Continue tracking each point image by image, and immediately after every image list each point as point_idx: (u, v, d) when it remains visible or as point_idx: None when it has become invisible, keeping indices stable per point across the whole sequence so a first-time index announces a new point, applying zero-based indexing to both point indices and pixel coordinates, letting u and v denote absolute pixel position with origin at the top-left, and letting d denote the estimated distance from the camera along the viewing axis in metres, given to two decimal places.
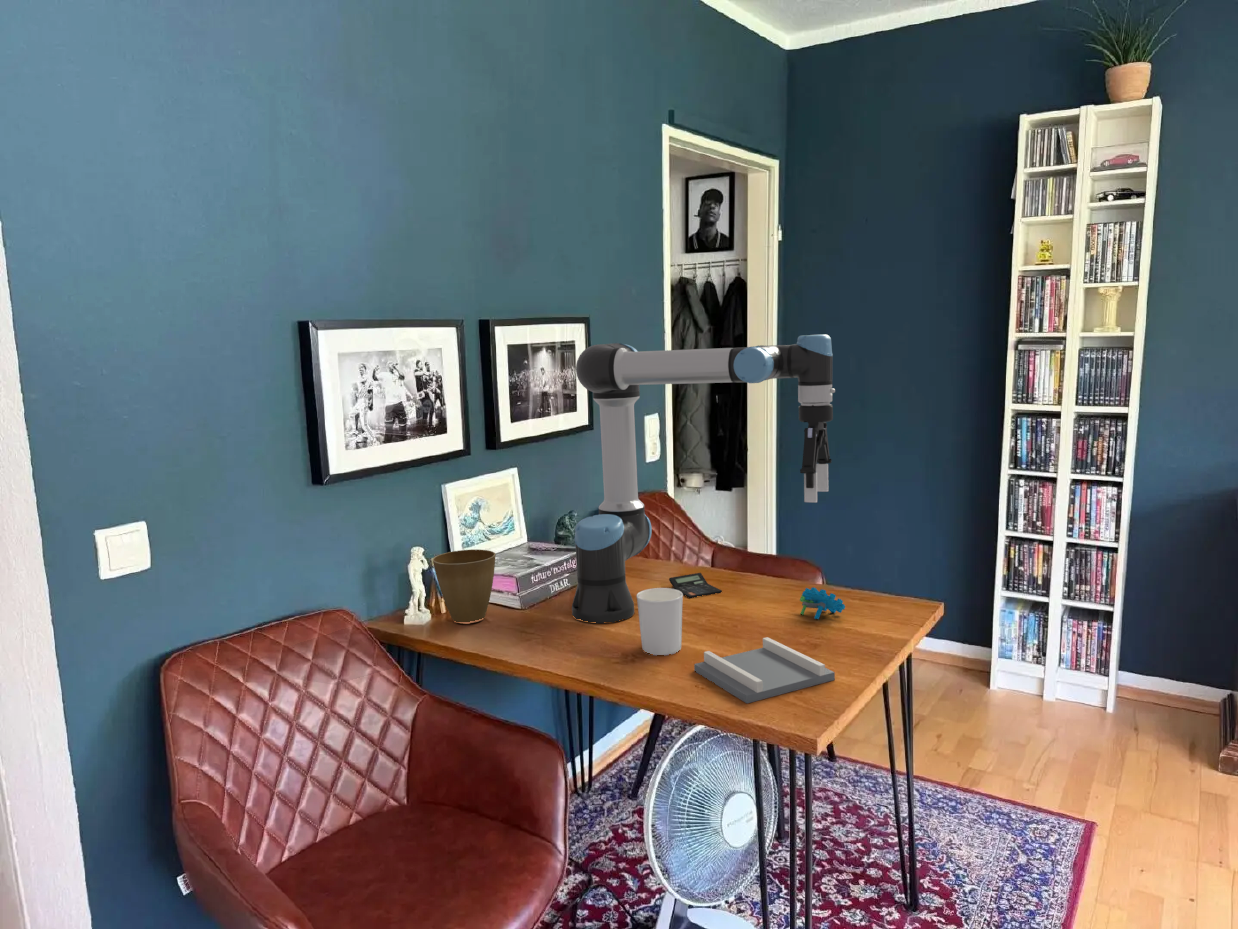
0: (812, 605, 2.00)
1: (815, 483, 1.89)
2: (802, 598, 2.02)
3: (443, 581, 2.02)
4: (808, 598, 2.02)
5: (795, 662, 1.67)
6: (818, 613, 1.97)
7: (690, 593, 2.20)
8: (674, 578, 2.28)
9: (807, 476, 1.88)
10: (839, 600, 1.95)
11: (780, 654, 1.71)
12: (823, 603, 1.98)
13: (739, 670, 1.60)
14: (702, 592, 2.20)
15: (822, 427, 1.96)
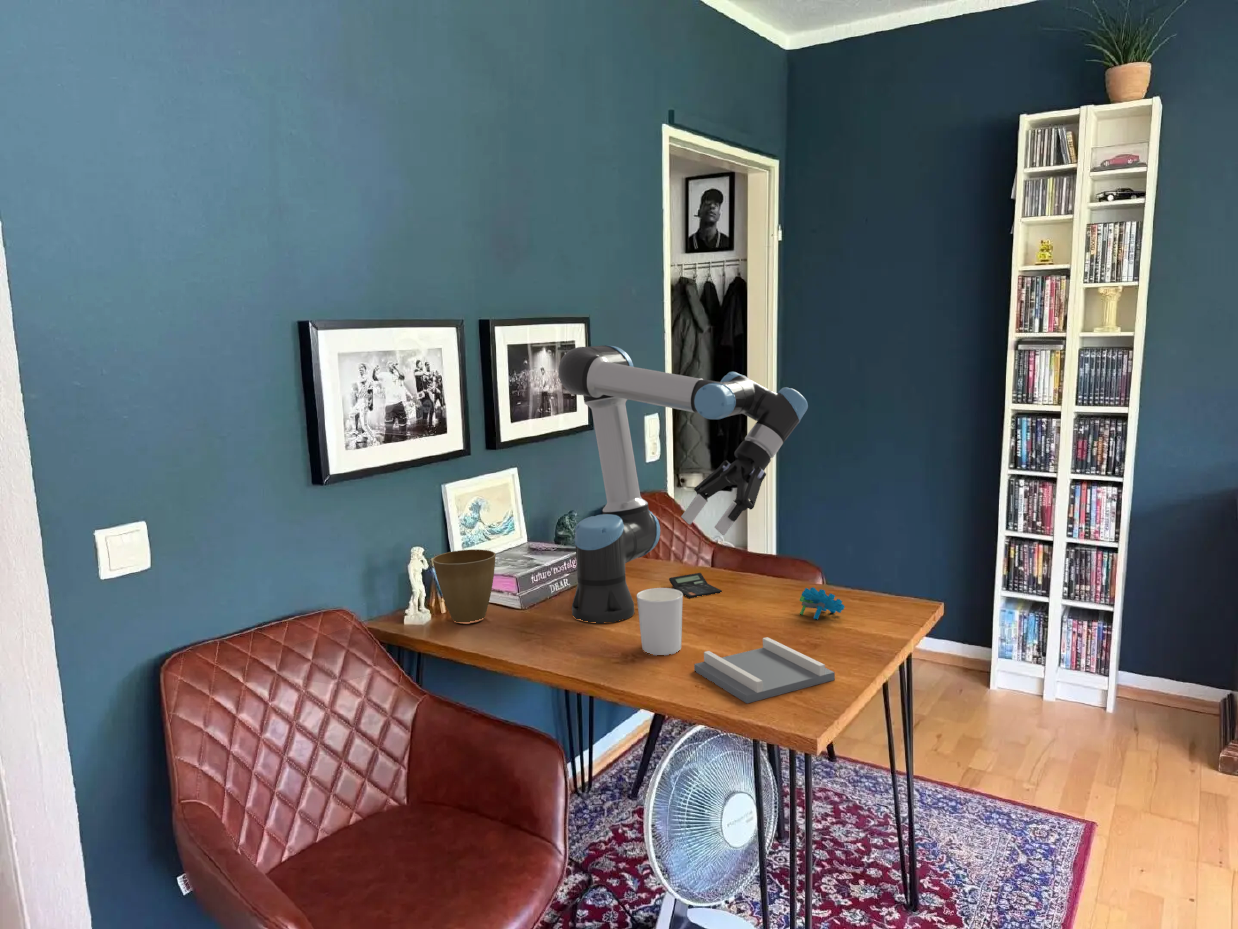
0: (811, 605, 2.00)
1: None
2: (802, 598, 2.02)
3: (443, 581, 2.02)
4: (808, 598, 2.02)
5: (795, 662, 1.67)
6: (818, 613, 1.97)
7: (690, 593, 2.20)
8: (674, 578, 2.28)
9: (738, 508, 1.78)
10: (838, 600, 1.95)
11: (780, 654, 1.71)
12: (822, 603, 1.98)
13: (739, 670, 1.60)
14: (702, 592, 2.20)
15: None
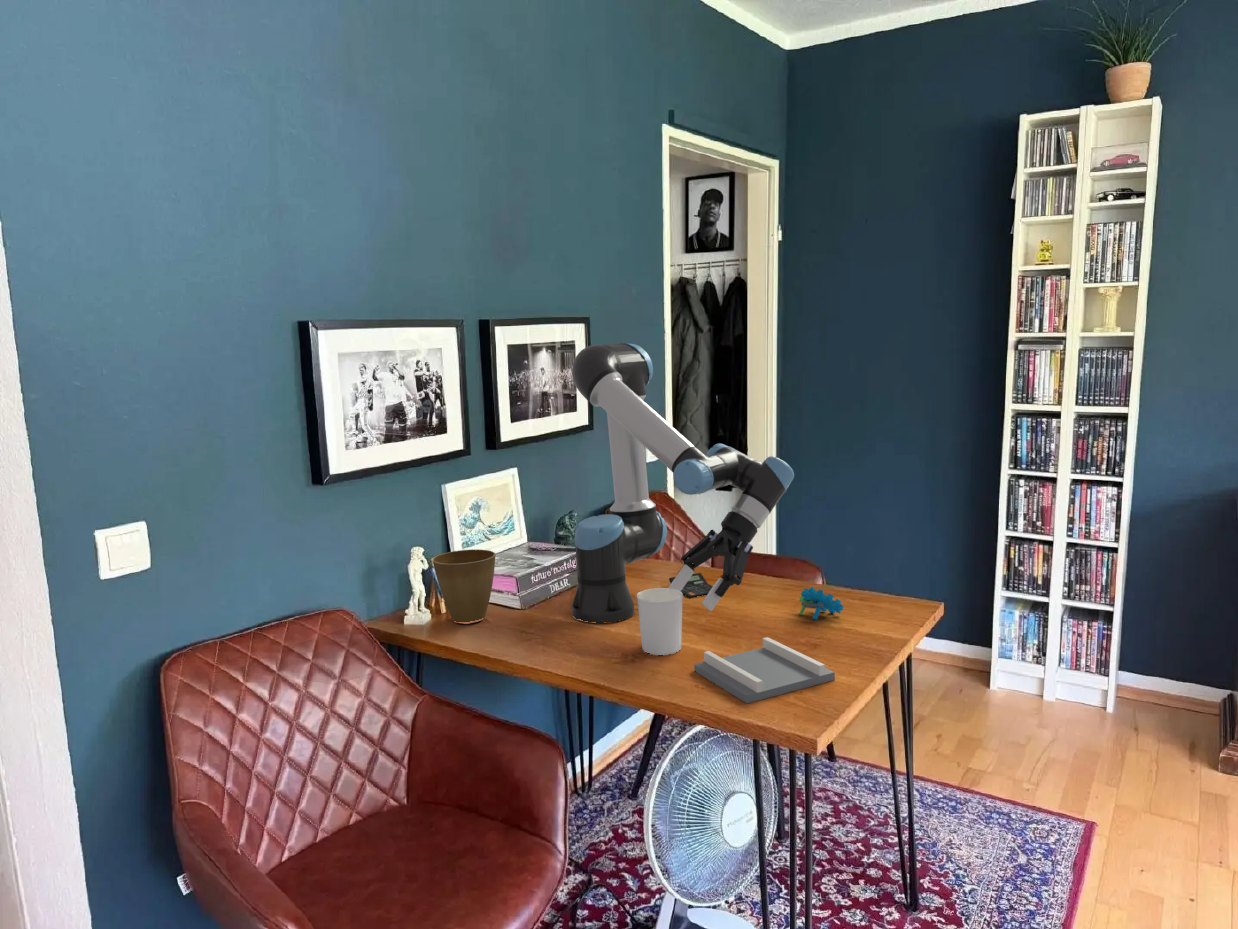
0: (811, 605, 2.00)
1: None
2: (801, 598, 2.02)
3: (443, 581, 2.02)
4: (807, 598, 2.01)
5: (795, 662, 1.67)
6: (817, 613, 1.97)
7: (690, 593, 2.20)
8: (674, 578, 2.28)
9: (725, 584, 1.77)
10: (837, 601, 1.95)
11: (780, 654, 1.71)
12: (821, 603, 1.98)
13: (739, 670, 1.60)
14: (702, 592, 2.20)
15: None
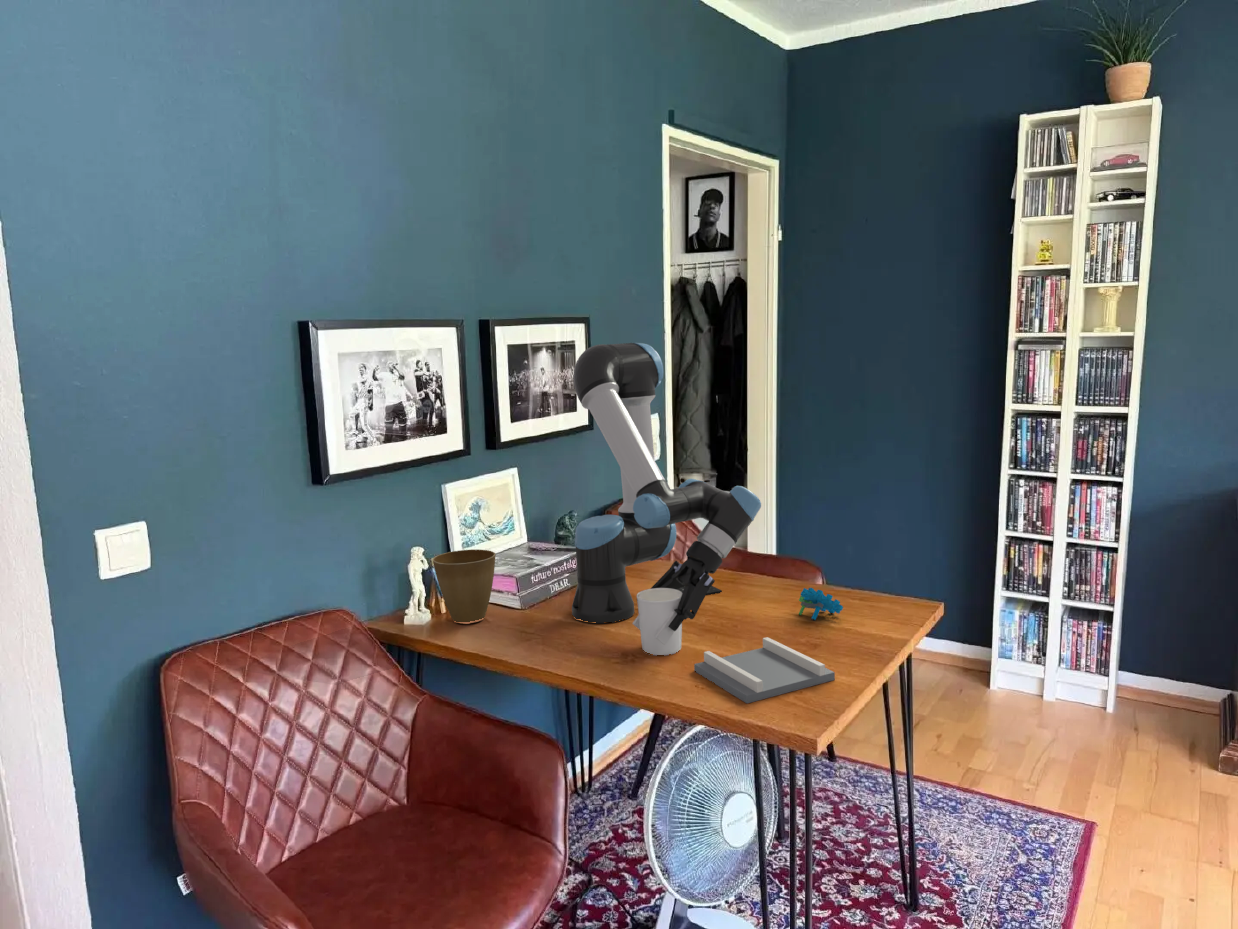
0: (810, 605, 1.99)
1: None
2: (801, 598, 2.02)
3: (443, 581, 2.02)
4: (807, 598, 2.01)
5: (795, 662, 1.67)
6: (816, 613, 1.97)
7: None
8: None
9: (679, 618, 1.76)
10: (836, 601, 1.95)
11: (780, 654, 1.71)
12: (821, 603, 1.97)
13: (739, 670, 1.60)
14: None
15: None
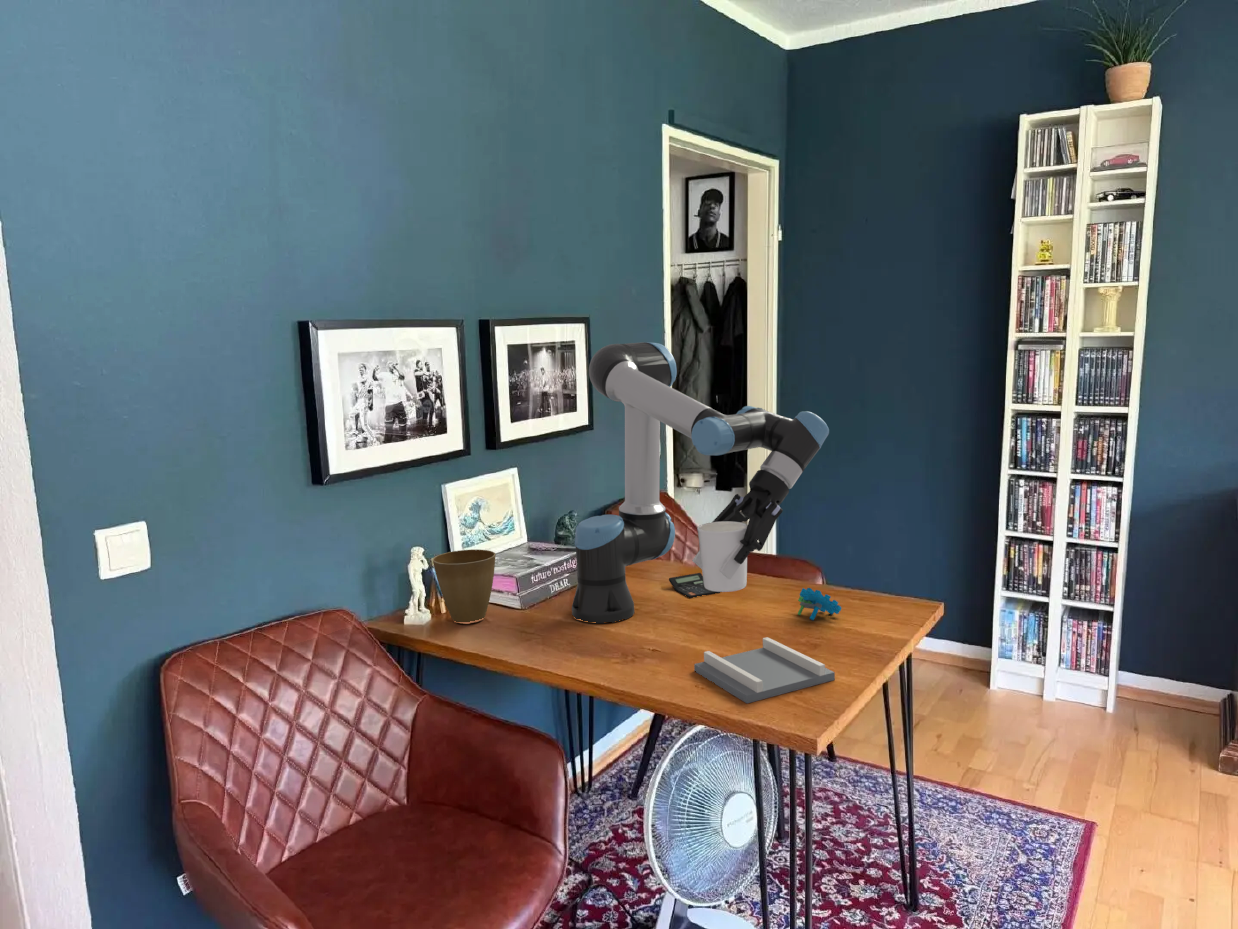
0: (809, 605, 1.99)
1: None
2: (800, 598, 2.02)
3: (443, 581, 2.02)
4: (806, 598, 2.01)
5: (795, 662, 1.67)
6: (814, 613, 1.97)
7: (689, 593, 2.20)
8: (674, 578, 2.28)
9: (745, 550, 1.62)
10: (834, 601, 1.94)
11: (780, 654, 1.71)
12: (819, 604, 1.97)
13: (739, 670, 1.60)
14: (702, 592, 2.20)
15: None
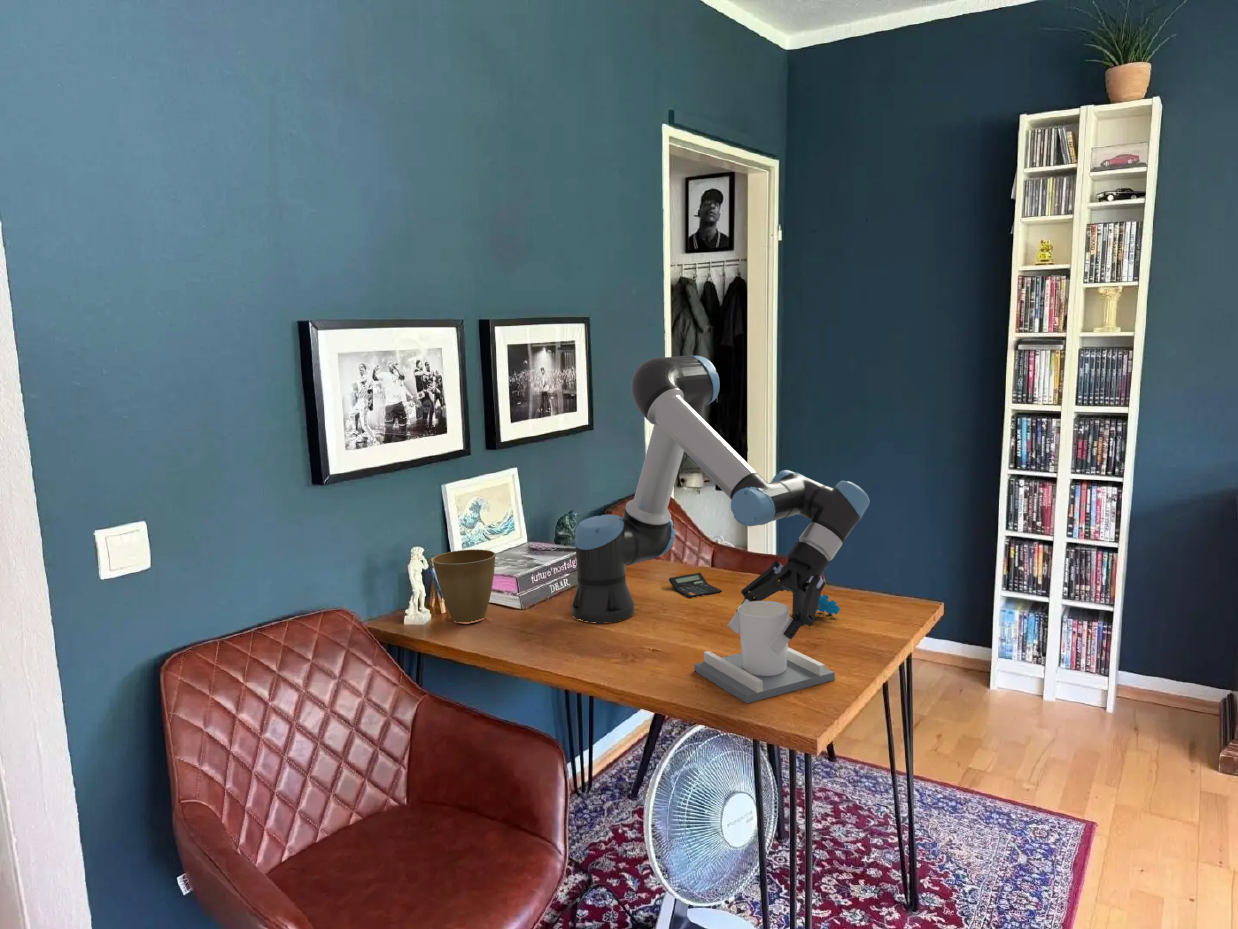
0: None
1: None
2: None
3: (443, 581, 2.02)
4: None
5: (795, 662, 1.67)
6: None
7: (689, 593, 2.20)
8: (674, 578, 2.28)
9: (796, 625, 1.58)
10: (832, 602, 1.94)
11: None
12: (818, 604, 1.97)
13: (739, 670, 1.60)
14: (702, 592, 2.20)
15: None
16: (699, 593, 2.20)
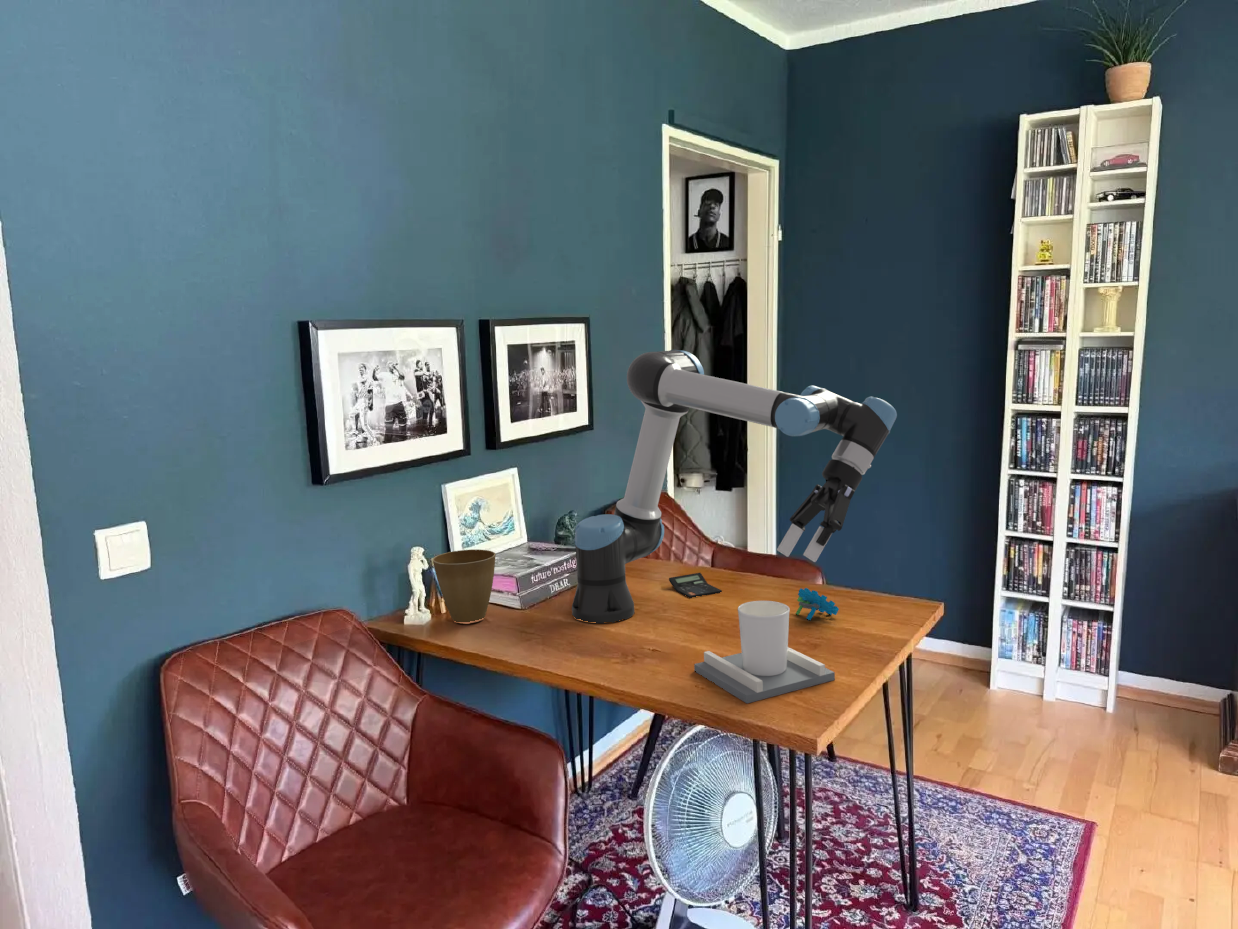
0: (807, 606, 1.99)
1: (825, 542, 1.67)
2: (799, 598, 2.02)
3: (443, 581, 2.02)
4: (805, 598, 2.01)
5: (795, 662, 1.67)
6: (811, 614, 1.97)
7: (689, 593, 2.20)
8: (674, 578, 2.28)
9: (826, 531, 1.66)
10: (831, 602, 1.94)
11: None
12: (816, 604, 1.97)
13: (739, 670, 1.60)
14: (702, 592, 2.20)
15: None
16: (699, 593, 2.20)
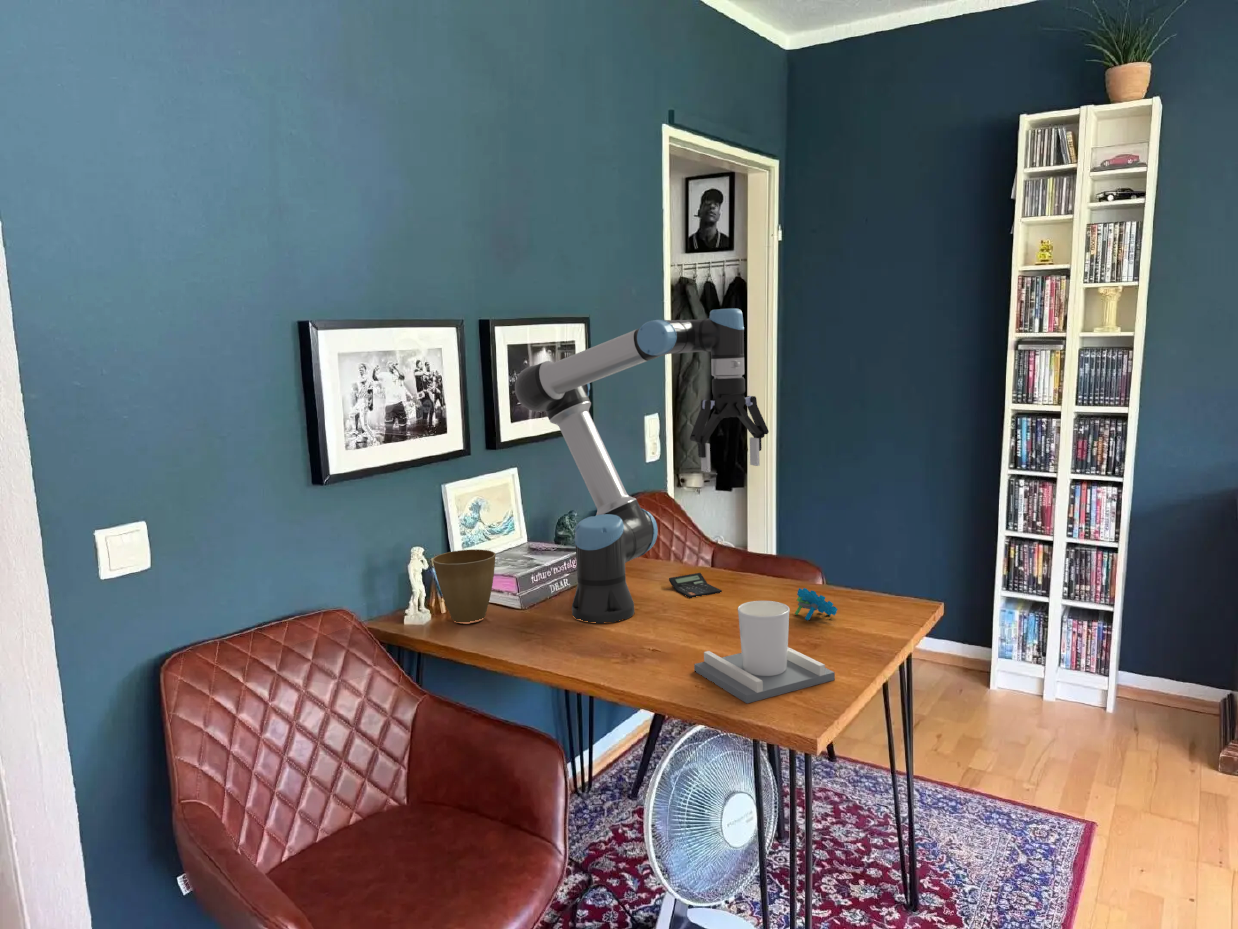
0: (806, 606, 1.99)
1: (706, 453, 1.96)
2: (799, 598, 2.02)
3: (443, 581, 2.02)
4: (804, 599, 2.01)
5: (795, 662, 1.67)
6: (809, 614, 1.97)
7: (689, 593, 2.20)
8: (674, 578, 2.28)
9: (698, 446, 1.96)
10: (829, 602, 1.94)
11: None
12: (815, 604, 1.97)
13: (739, 670, 1.60)
14: (702, 592, 2.20)
15: (739, 400, 1.98)
16: (699, 593, 2.20)
